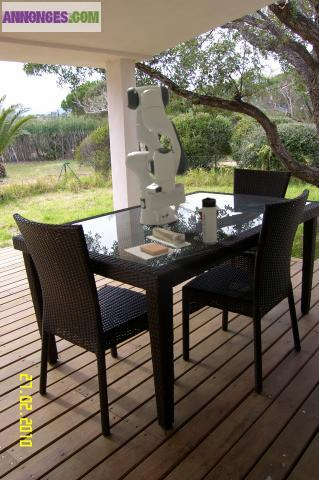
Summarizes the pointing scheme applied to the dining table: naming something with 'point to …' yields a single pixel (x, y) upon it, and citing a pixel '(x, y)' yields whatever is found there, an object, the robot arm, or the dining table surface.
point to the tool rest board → (168, 242)
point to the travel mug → (209, 221)
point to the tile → (154, 249)
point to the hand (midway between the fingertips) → (167, 216)
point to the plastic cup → (201, 212)
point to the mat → (143, 254)
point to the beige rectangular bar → (169, 236)
